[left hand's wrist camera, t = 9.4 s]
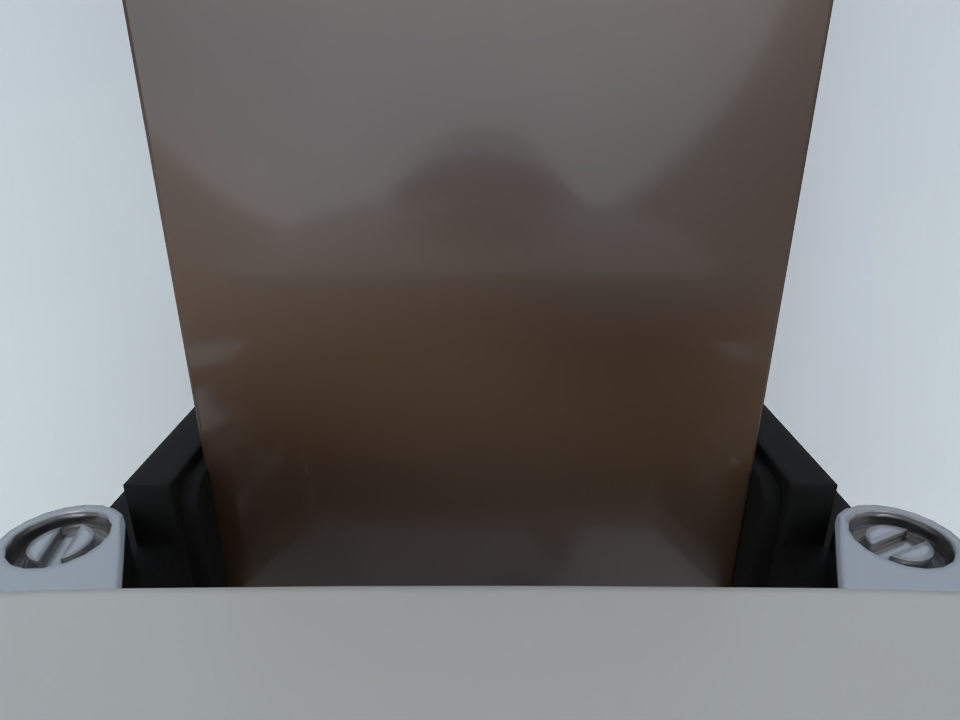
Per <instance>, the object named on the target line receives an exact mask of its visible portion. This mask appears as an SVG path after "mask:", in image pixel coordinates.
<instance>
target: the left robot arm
mask: <svg viewBox="0 0 960 720" xmlns="http://www.w3.org/2000/svg"><path fill="white" fill-rule="evenodd" d="M123 486H124V492H123V493H122V494H121V495H120V497H119V498H118V499H117V500H116V501H115V502H114V503H113V504H112V506H111V507H110V508H109V507H106V506H102V505H81V506H74V507H67V508H63V509H59V510H55V511H52V512H48V513H45V514H43V515H40V516H38V517H35V518H33V519H30V520H28V521H26V522H24V523H23V524H21V525H19V526H17V527H16V528H14V529H12V530H11V531H9V532H8V533H7V534H6V535H5V536H3V537H2V538H1V539H0V720H960V539H959V538H958V537H957V536H955V535H954V534H953V533H952V532H951V531H949V530H948V529H946V528H944V527H943V526H941V525H939V524H937V523H936V522H934V521H932V520H930V519H927V518H925V517H922V516H920V515H917V514H915V513H912V512H908V511H905V510H901V509H897V508H893V507H886V506H879V505H858V506H854V507H850V506H849V505H848V504H847V502H846V501H845V500H844V499H843V498H842V497H841V496H840V495H839V493H838V492H837V491H836V490H837V484H836V483H835V482H834V481H833V480H832V479H831V477H830V476H829V475H828V474H827V473H826V472H825V471H824V470H823V469H822V468H821V466H820V465H819V464H818V463H817V462H816V461H815V460H814V459H813V458H812V457H811V456H810V454H809V453H808V452H807V451H806V450H805V449H804V448H803V447H802V446H801V445H800V443H799V442H798V441H797V440H796V439H795V438H794V437H793V436H792V435H791V434H790V432H789V431H788V430H787V429H786V428H785V427H784V426H783V425H782V424H781V423H780V421H779V420H778V419H777V418H776V417H775V416H774V415H773V414H772V413H771V412H770V411H769V409H768V408H767V407H766V406H765V405H764V404H763V409H762V415H761V421H760V426H759V432H758V438H757V444H756V449H755V455H754V461H753V467H752V473H751V478H750V484H749V490H748V496H747V501H746V507H745V513H744V519H743V524H742V530H741V536H740V542H739V547H738V553H737V559H736V565H735V571H734V576H733V582H732V587H631V586H306V587H229V585H228V579H227V573H226V567H225V562H224V556H223V550H222V545H221V539H220V533H219V528H218V522H217V516H216V510H215V505H214V499H213V493H212V488H211V482H210V476H209V471H208V469H206V467H205V461H204V455H203V450H202V444H201V439H200V433H199V427H198V422H197V416H196V411H195V407H194V408H193V409H192V410H191V411H190V412H189V414H188V415H187V416H186V417H185V418H184V419H183V420H182V421H181V422H180V423H179V425H178V426H177V427H176V428H175V429H174V430H173V431H172V432H171V433H170V434H169V436H168V437H167V438H166V439H165V440H164V441H163V442H162V443H161V444H160V445H159V447H158V448H157V449H156V450H155V451H154V452H153V453H152V454H151V455H150V456H149V457H148V459H147V460H146V461H145V462H144V463H143V464H142V465H141V466H140V467H139V468H138V470H137V471H136V472H135V473H134V474H133V475H132V476H131V477H130V478H129V479H128V481H127V482H126V483H125V484H124V485H123Z"/></svg>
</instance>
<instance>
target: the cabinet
mask: <svg viewBox="0 0 960 720" xmlns="http://www.w3.org/2000/svg"><path fill="white" fill-rule="evenodd" d="M122 2H123V7H124V13H125V18H126V24H127V30H128V35H129V41H130V46H131V52H132V58H133V63H134V69H135V74H136V80H137V86H138V91H139V97H140V102H141V108H142V114H143V119H144V125H145V130H146V136H147V142H148V147H149V153H150V158H151V164H152V170H153V175H154V181H155V186H156V192H157V198H158V203H159V209H160V214H161V220H162V226H163V231H164V237H165V243H166V248H167V254H168V259H169V265H170V271H171V276H172V282H173V287H174V293H175V299H176V304H177V310H178V315H179V321H180V327H181V332H182V338H183V343H184V349H185V355H186V360H187V366H188V371H189V377H190V383H191V388H192V394H193V399H194V405H195V411H196V416H197V422H198V427H199V433H200V439H201V444H202V450H203V455H204V461H205V467H206V469H208V471H209V476H210V482H211V488H212V493H213V499H214V505H215V510H216V516H217V522H218V528H219V533H220V539H221V545H222V550H223V556H224V562H225V567H226V573H227V579H228V585H229V587H306V586H631V587H732V582H733V576H734V571H735V565H736V559H737V553H738V547H739V542H740V536H741V530H742V524H743V519H744V513H745V507H746V501H747V496H748V490H749V484H750V478H751V473H752V467H753V461H754V455H755V449H756V444H757V438H758V432H759V426H760V421H761V415H762V409H763V403H764V398H765V392H766V386H767V380H768V375H769V369H770V363H771V357H772V351H773V346H774V340H775V334H776V328H777V323H778V317H779V311H780V305H781V300H782V294H783V288H784V282H785V277H786V271H787V265H788V259H789V253H790V248H791V242H792V236H793V230H794V225H795V219H796V213H797V207H798V202H799V196H800V190H801V184H802V179H803V173H804V167H805V161H806V155H807V150H808V144H809V138H810V132H811V127H812V121H813V115H814V109H815V104H816V98H817V92H818V86H819V81H820V75H821V69H822V63H823V57H824V52H825V46H826V40H827V34H828V29H829V23H830V17H831V11H832V6H833V0H122Z"/></svg>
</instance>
